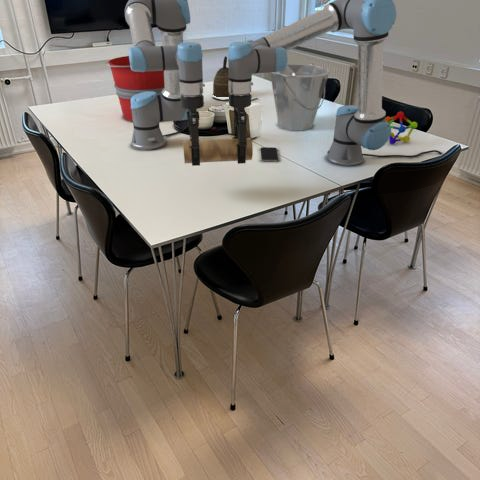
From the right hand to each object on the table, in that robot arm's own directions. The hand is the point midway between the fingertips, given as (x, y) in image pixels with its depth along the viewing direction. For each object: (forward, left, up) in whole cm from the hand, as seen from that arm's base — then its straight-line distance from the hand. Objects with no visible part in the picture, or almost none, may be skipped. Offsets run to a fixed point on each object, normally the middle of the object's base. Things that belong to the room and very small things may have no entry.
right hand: (239, 158), depth 158 cm
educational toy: (-92, -1, -13) cm, 92 cm away
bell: (-72, -117, -13) cm, 138 cm away
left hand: (+14, -7, 0) cm, 16 cm away
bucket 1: (-13, -109, -13) cm, 110 cm away
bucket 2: (-70, -49, -13) cm, 87 cm away
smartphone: (-32, -23, -13) cm, 41 cm away
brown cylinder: (+7, -4, -1) cm, 8 cm away
